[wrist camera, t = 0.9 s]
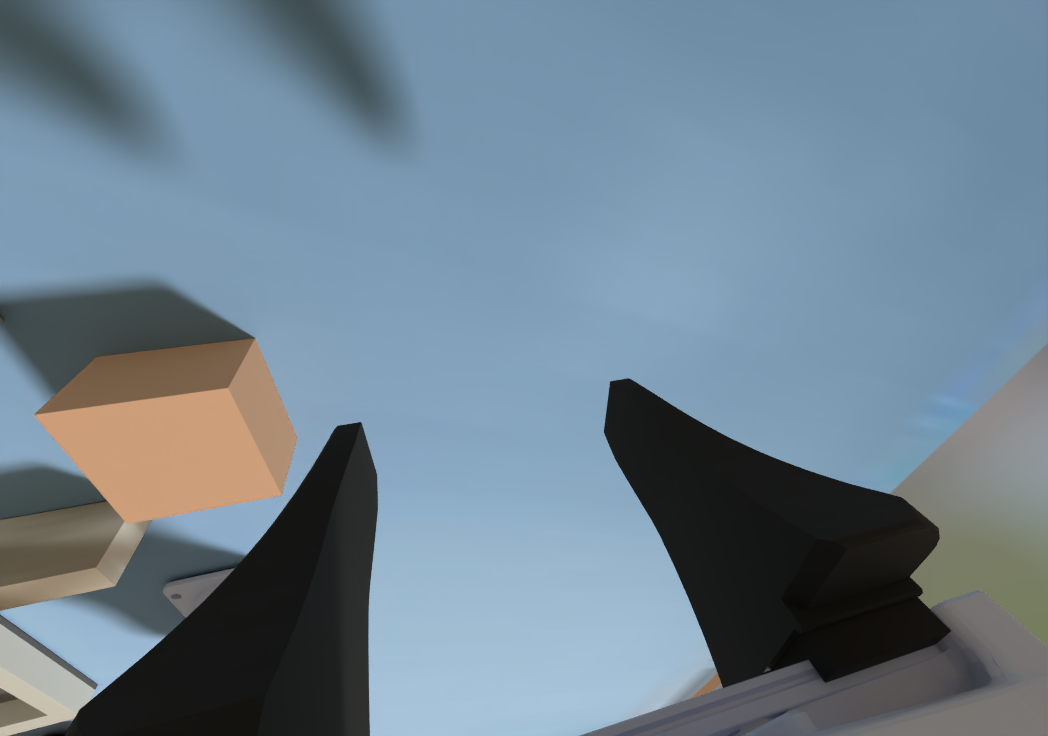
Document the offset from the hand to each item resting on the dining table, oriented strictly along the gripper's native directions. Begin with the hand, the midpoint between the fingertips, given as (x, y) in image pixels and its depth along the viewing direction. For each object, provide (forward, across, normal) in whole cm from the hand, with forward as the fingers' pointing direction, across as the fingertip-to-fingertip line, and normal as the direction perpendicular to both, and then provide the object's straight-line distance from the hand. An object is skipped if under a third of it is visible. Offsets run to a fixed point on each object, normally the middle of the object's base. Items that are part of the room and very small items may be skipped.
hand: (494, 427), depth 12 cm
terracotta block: (+10, +12, +4) cm, 16 cm away
